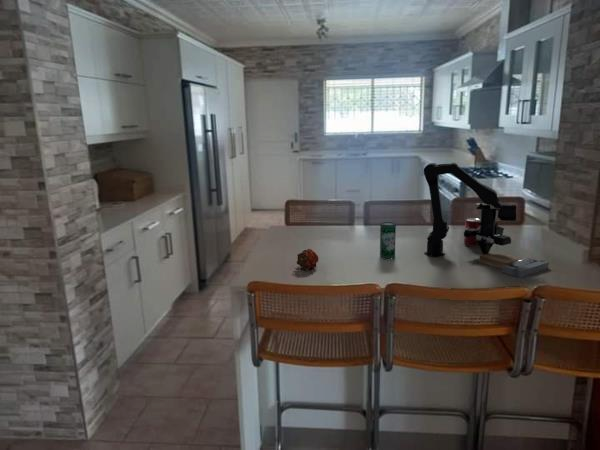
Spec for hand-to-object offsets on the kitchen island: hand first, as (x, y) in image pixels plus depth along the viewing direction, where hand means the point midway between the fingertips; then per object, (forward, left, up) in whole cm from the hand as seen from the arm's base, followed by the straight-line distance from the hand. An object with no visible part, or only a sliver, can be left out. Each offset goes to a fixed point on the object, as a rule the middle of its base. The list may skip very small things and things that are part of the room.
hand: (485, 256), depth 186 cm
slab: (0, -7, -2) cm, 7 cm away
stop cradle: (0, -18, -1) cm, 18 cm away
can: (-31, +25, -1) cm, 40 cm away
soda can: (+13, +16, -1) cm, 21 cm away
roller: (0, -15, -1) cm, 15 cm away
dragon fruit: (-66, +34, -1) cm, 74 cm away
